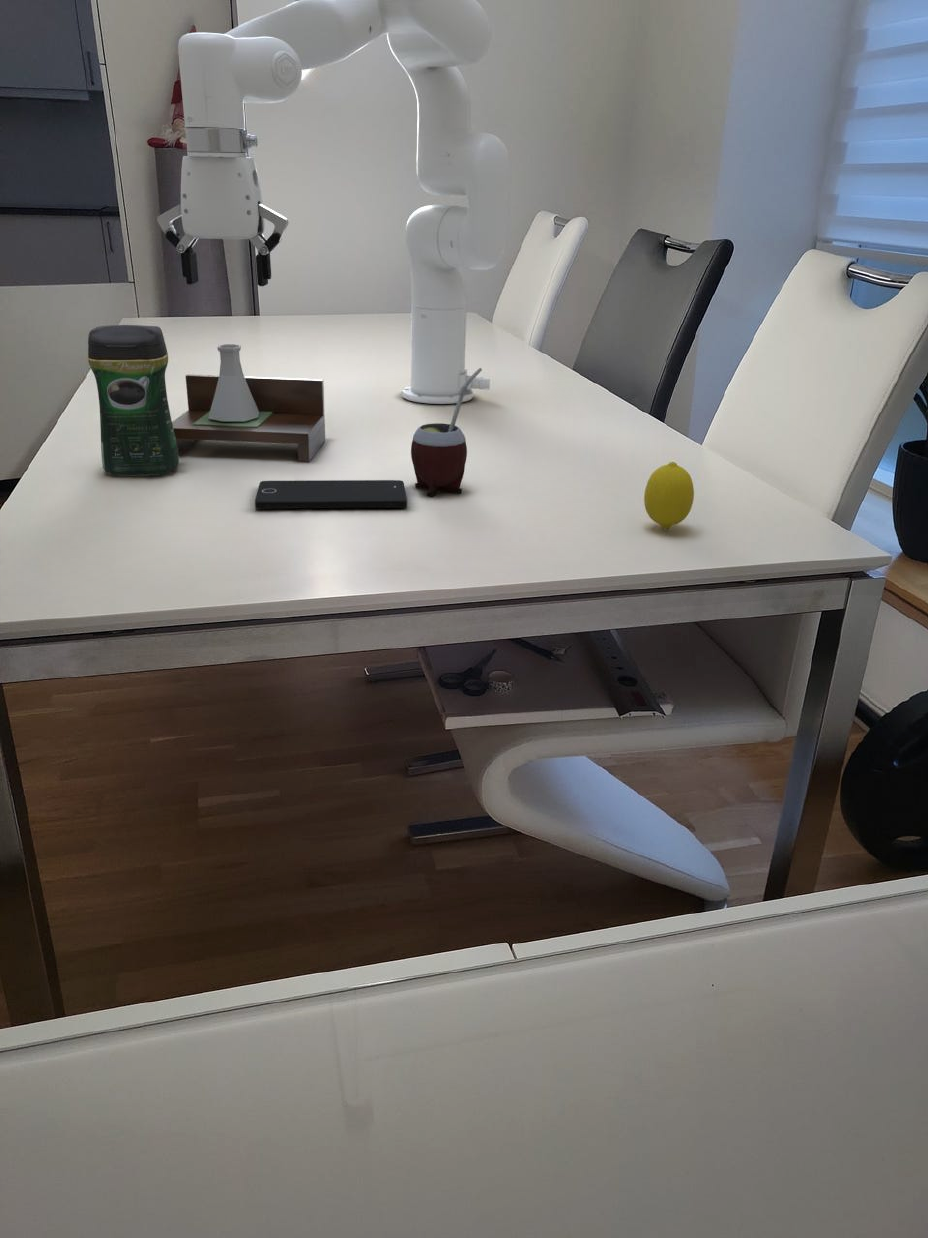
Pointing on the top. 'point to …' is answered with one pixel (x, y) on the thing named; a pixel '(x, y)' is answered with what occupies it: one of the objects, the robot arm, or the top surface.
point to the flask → (232, 389)
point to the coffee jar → (133, 399)
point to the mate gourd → (441, 453)
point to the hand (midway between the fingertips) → (227, 284)
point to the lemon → (669, 495)
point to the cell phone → (331, 494)
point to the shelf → (282, 418)
